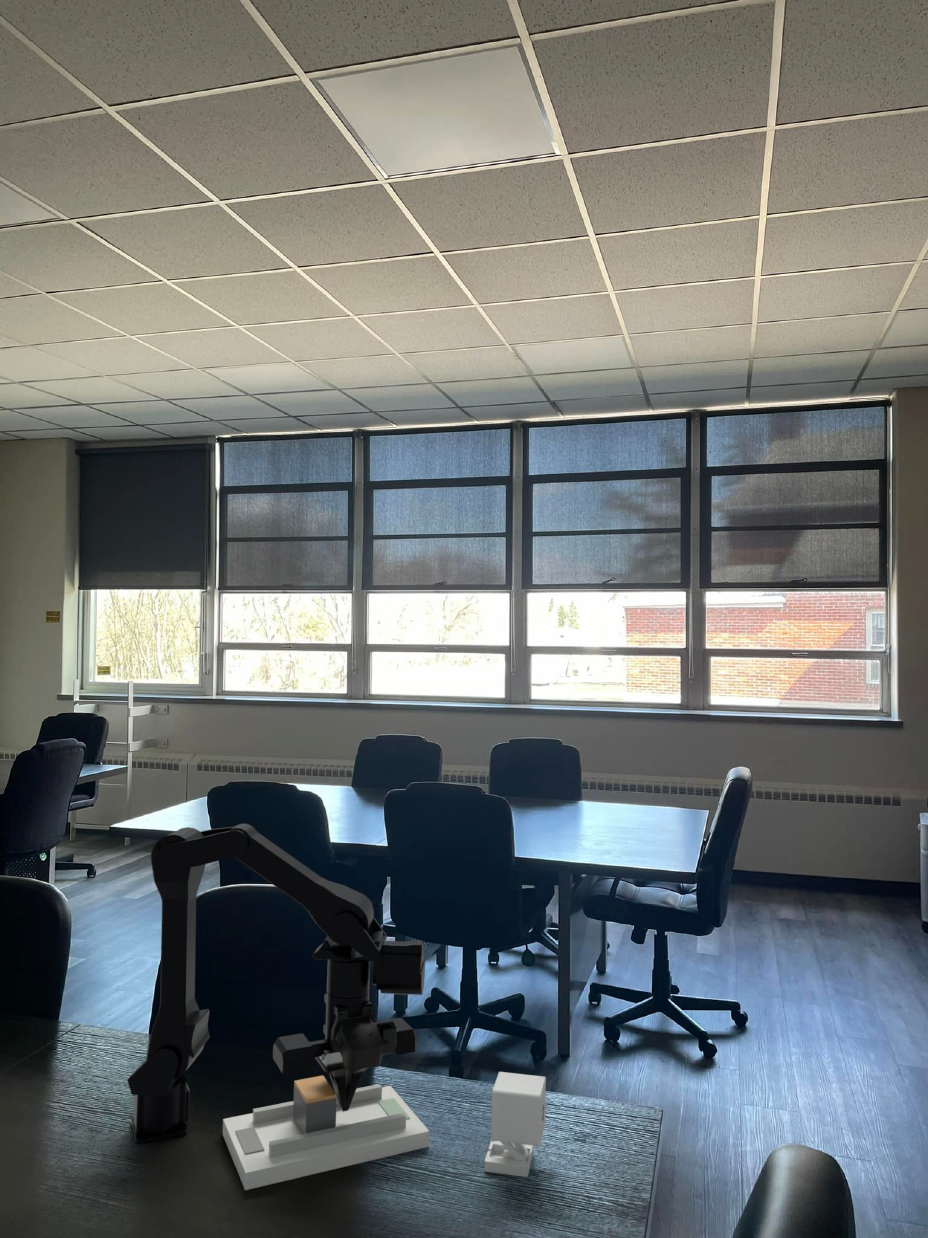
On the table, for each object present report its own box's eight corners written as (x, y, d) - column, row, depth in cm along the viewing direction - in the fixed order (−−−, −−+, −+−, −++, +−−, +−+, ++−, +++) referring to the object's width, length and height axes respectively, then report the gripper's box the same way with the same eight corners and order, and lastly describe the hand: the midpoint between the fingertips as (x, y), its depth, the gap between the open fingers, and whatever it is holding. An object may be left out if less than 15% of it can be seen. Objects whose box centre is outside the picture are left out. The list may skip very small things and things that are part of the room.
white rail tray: (245, 1190, 105) (246, 1160, 106) (222, 1134, 118) (223, 1107, 118) (428, 1147, 116) (429, 1119, 116) (390, 1100, 128) (390, 1075, 129)
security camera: (539, 1181, 109) (540, 1097, 109) (483, 1173, 110) (485, 1091, 111) (545, 1154, 115) (546, 1074, 115) (492, 1147, 116) (493, 1069, 117)
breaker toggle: (305, 1140, 113) (306, 1100, 113) (293, 1118, 118) (294, 1081, 118) (335, 1133, 115) (336, 1094, 115) (321, 1112, 120) (323, 1075, 120)
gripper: (296, 1023, 108) (292, 1155, 107) (435, 1002, 116) (432, 1124, 115) (274, 993, 118) (269, 1113, 117) (403, 975, 126) (400, 1087, 125)
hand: (344, 1110), depth 118 cm, fingers closed
